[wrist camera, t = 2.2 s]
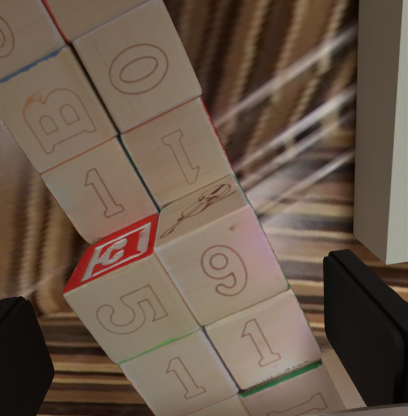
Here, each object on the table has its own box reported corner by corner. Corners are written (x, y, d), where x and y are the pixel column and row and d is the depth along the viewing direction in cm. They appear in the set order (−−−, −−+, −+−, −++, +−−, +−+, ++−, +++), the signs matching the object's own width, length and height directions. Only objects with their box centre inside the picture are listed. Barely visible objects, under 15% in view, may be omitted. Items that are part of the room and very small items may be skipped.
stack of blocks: (40, 29, 18) (-215, -67, 6) (145, -27, 17) (69, -243, 6) (206, 323, 25) (226, 526, 14) (285, 291, 25) (374, 474, 13)
